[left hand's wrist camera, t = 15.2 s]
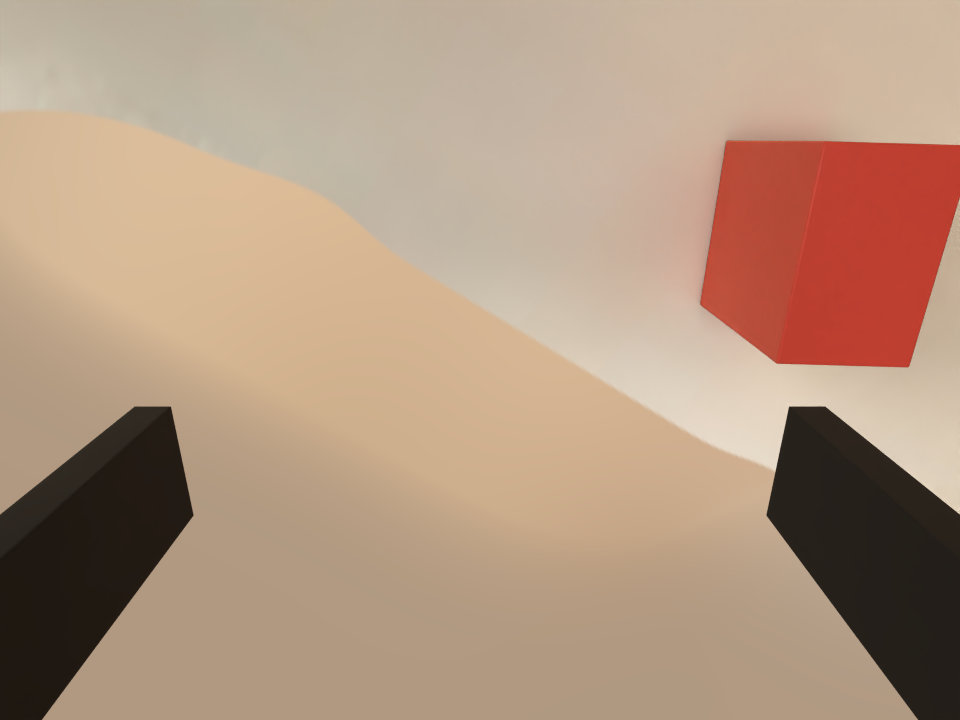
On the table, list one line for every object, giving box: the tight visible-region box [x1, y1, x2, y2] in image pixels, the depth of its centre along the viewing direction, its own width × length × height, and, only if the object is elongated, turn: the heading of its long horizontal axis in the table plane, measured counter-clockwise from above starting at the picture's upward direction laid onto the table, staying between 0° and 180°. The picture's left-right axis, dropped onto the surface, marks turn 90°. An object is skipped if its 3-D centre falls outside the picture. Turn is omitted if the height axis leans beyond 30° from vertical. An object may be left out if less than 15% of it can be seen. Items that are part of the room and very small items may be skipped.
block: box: [700, 141, 960, 367], centre depth 26 cm, size 5×8×9 cm, turn 178°
